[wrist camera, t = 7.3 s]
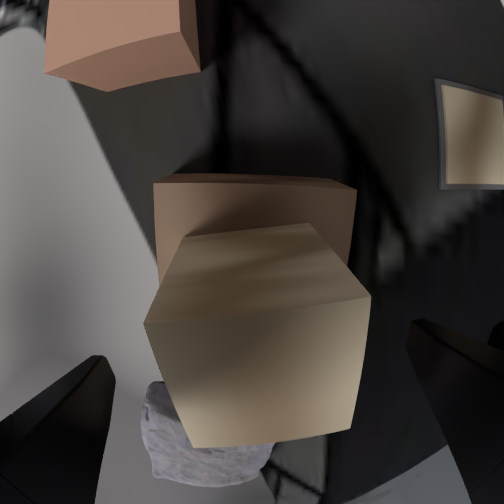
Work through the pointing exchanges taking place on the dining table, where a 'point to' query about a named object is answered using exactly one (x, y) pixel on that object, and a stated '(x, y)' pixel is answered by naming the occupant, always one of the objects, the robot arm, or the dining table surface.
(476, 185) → the tile
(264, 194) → the walnut base block
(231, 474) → the stone block
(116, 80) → the terracotta block
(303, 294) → the oak block
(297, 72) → the dining table surface
